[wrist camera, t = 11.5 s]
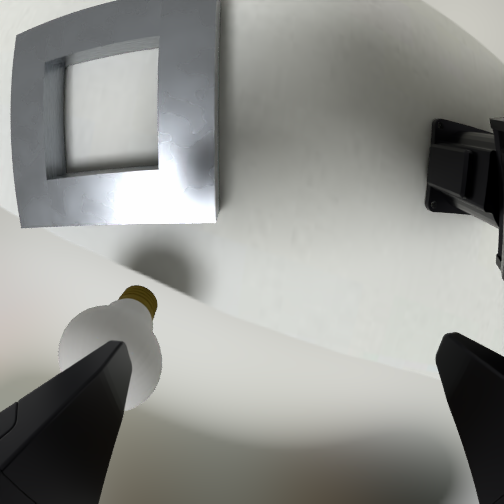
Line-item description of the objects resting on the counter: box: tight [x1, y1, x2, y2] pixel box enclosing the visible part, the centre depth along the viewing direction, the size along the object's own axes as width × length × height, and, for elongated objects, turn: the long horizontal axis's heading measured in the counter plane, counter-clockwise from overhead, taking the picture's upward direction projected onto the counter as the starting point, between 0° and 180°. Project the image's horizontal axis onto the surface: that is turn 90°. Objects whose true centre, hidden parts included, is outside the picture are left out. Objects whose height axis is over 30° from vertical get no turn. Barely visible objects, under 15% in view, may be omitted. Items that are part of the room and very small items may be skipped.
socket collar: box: [11, 0, 221, 228], centre depth 15 cm, size 14×14×2 cm
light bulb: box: [58, 285, 162, 411], centre depth 17 cm, size 6×6×10 cm
